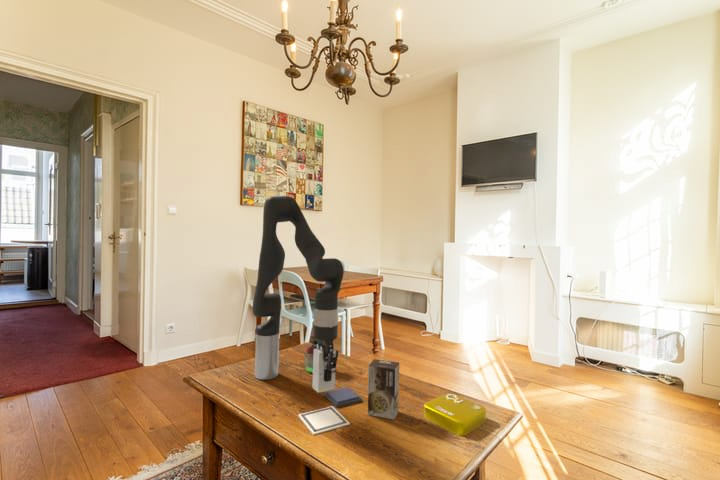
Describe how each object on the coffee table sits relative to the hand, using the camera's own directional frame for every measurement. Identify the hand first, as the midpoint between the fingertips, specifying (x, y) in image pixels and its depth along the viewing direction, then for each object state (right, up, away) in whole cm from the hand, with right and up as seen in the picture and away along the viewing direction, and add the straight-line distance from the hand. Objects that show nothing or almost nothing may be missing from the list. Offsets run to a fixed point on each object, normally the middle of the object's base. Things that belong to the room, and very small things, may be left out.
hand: (324, 377), depth 106 cm
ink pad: (+5, -13, +15) cm, 21 cm away
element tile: (+41, -15, +3) cm, 44 cm away
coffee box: (+19, -14, +6) cm, 24 cm away
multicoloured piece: (-7, -13, +41) cm, 44 cm away
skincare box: (0, -3, 0) cm, 3 cm away
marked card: (0, -13, 0) cm, 13 cm away
